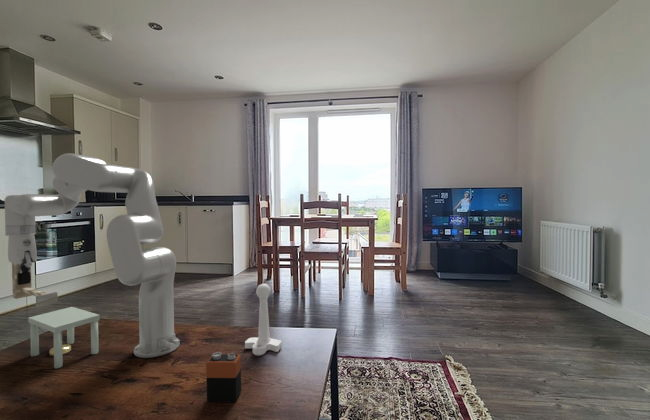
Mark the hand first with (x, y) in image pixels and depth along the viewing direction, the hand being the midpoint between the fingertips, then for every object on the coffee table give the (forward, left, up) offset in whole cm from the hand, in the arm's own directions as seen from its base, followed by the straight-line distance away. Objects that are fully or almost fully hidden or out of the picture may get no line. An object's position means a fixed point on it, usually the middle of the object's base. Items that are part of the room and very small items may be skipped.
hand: (21, 282), depth 107 cm
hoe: (-9, 0, -5) cm, 10 cm away
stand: (-30, 0, -18) cm, 35 cm away
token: (-27, 0, -19) cm, 33 cm away
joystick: (-82, -29, -19) cm, 89 cm away
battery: (-89, -7, -19) cm, 92 cm away
